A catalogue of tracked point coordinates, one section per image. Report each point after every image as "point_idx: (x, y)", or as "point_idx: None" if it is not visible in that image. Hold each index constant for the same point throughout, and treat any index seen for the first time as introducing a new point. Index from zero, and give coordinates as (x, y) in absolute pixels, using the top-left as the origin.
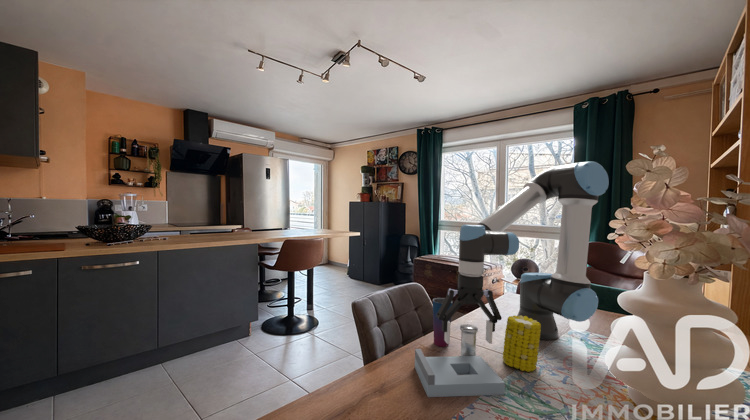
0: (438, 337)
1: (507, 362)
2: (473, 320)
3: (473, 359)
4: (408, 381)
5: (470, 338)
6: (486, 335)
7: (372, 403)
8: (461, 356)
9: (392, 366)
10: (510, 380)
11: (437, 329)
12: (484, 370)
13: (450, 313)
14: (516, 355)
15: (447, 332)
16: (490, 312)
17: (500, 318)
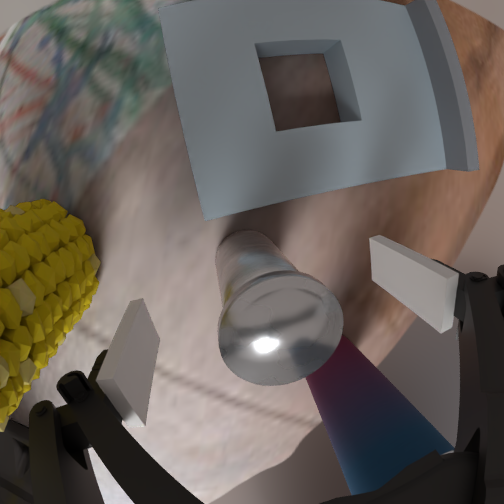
0: (358, 352)
1: (85, 237)
2: None
3: (248, 172)
4: None
5: (268, 266)
6: (153, 348)
7: (475, 31)
8: (302, 194)
9: None
10: (105, 123)
11: (378, 371)
12: (217, 76)
13: (494, 311)
14: (36, 217)
15: (415, 254)
16: (96, 451)
17: (36, 408)
